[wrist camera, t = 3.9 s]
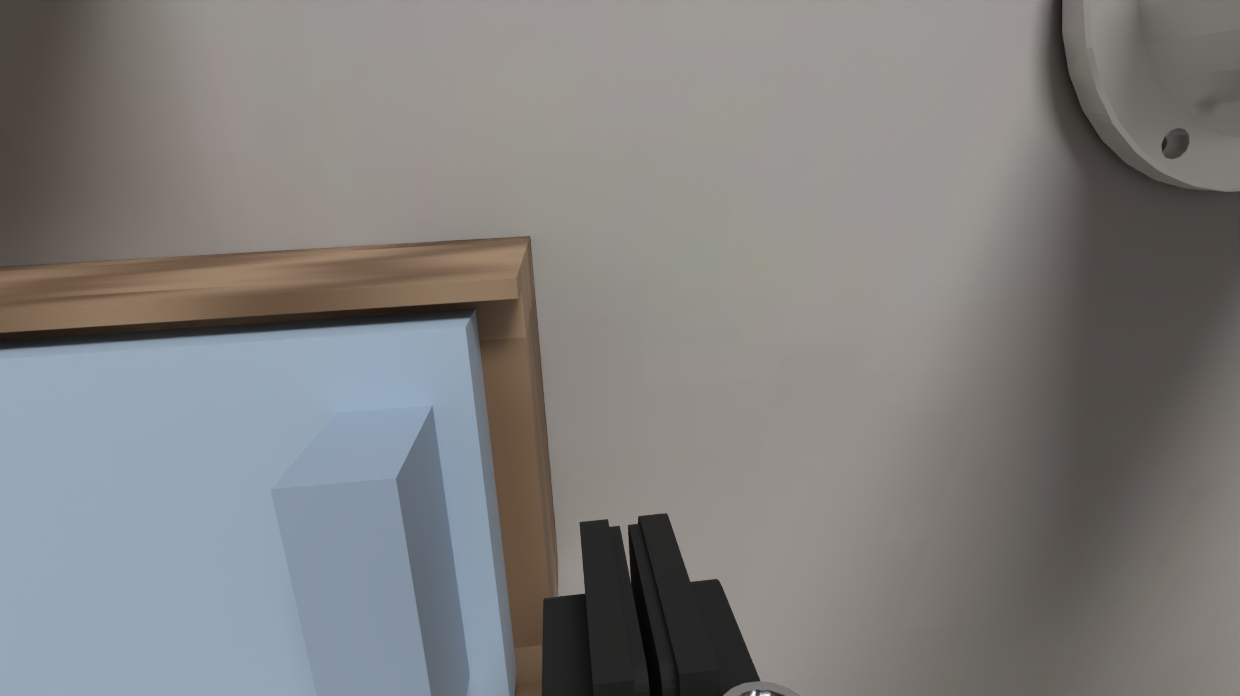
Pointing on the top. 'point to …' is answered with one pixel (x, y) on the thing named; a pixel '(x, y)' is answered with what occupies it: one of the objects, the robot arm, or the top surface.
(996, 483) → the top surface
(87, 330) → the walnut box
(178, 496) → the cover plate
